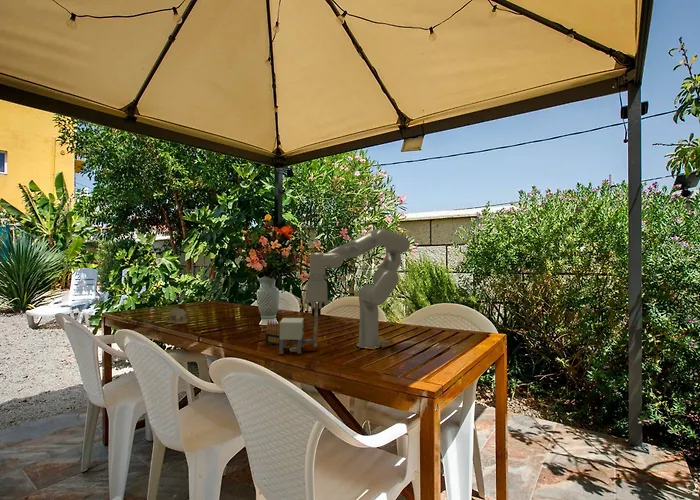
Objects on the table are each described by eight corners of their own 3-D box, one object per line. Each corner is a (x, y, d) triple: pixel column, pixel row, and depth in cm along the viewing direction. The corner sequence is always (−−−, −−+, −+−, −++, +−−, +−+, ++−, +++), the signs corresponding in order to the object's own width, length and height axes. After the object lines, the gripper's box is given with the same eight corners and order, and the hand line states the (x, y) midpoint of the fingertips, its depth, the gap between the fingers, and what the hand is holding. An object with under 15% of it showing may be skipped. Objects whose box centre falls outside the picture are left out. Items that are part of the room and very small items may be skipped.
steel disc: (300, 350, 183) (300, 347, 183) (299, 353, 178) (299, 350, 178) (289, 350, 183) (289, 347, 183) (288, 353, 178) (288, 350, 178)
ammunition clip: (265, 343, 196) (265, 320, 196) (267, 342, 197) (268, 319, 197) (281, 346, 190) (281, 322, 190) (283, 345, 192) (284, 321, 192)
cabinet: (304, 348, 187) (305, 318, 187) (303, 354, 174) (303, 322, 175) (282, 347, 187) (283, 317, 187) (279, 354, 174) (279, 322, 174)
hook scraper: (317, 344, 184) (318, 303, 184) (316, 347, 179) (318, 304, 179) (290, 344, 183) (291, 302, 183) (289, 346, 178) (290, 304, 178)
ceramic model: (191, 321, 256) (191, 306, 256) (183, 324, 245) (183, 309, 245) (171, 320, 257) (171, 306, 257) (162, 323, 246) (162, 308, 246)
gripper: (333, 278, 186) (332, 315, 186) (301, 277, 185) (300, 315, 185) (333, 279, 178) (332, 318, 178) (300, 278, 177) (299, 317, 177)
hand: (316, 316), depth 181 cm, fingers closed on hook scraper, 1 cm apart
